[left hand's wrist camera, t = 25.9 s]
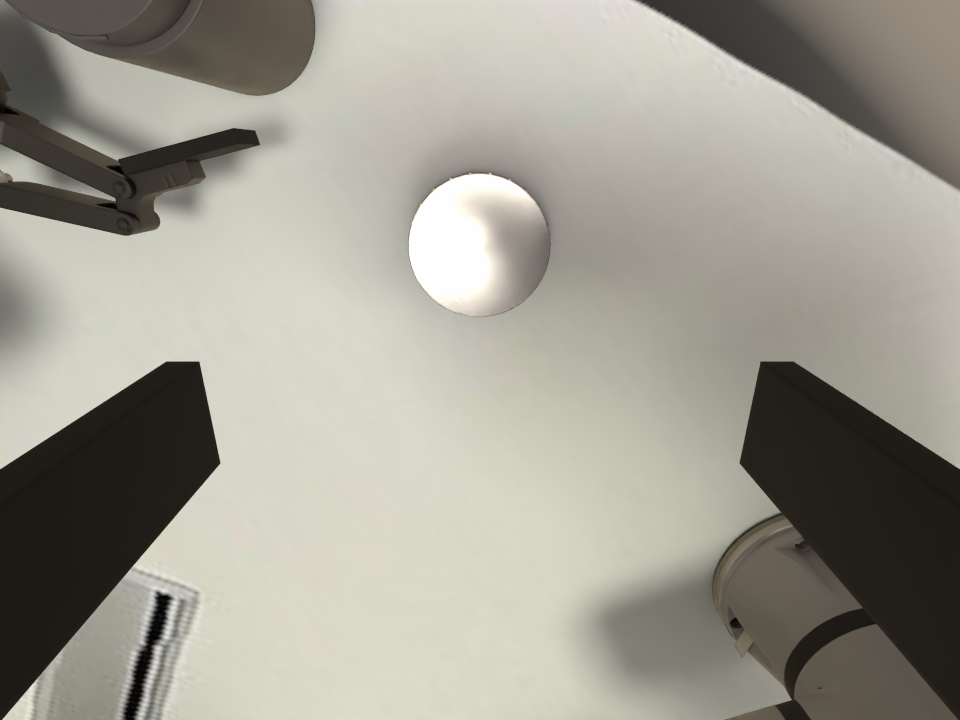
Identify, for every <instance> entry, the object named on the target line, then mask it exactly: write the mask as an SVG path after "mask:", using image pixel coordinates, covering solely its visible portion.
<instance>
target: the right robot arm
mask: <svg viewBox="0 0 960 720" xmlns="http://www.w3.org/2000/svg"><path fill="white" fill-rule="evenodd" d="M7 91H10V88H9V86H8V84H7V82H6V80H5V78H4V76H3V74H2V73H1V72H0V144H2V145H4V146H6V147H8V148H10V149H12V150H15V151H17V152H19V153H21V154H23V155H25V156H27V157H29V158H32V159H34V160H36V161H38V162H40V163H42V164H44V165H46V166H49V167H51V168H53V169H55V170H57V171H59V172H61V173H63V174H66V175H68V176H70V177H72V178H74V179H76V180H78V181H80V182H83V183H85V184H87V185H89V186H91V187H93V188H95V189H97V190H100V191H102V192H104V193H106V194H108V195H110V196H112V197H114V198H116V202H115V201H111V200H107V199H102V198H98V197H94V196H89V195H85V194H81V193H76V192H72V191H68V190H63V189H59V188H54V187H50V186H46V185H41V184H37V183H31V182H13V180H12V177H11V176H10V175H9V174H7V173H3V172H2V171H1V170H0V208H5V209H9V210H14V211H18V212H22V213H27V214H31V215H36V216H40V217H45V218H49V219H53V220H58V221H62V222H67V223H71V224H76V225H80V226H84V227H89V228H93V229H98V230H102V231H107V232H111V233H115V234H120V235H126V236H129V235H133V234H138V233H142V232H147V231H151V230H155V229H157V228H158V227H159V225H160V218H159V216H158V215H157V214H156V213H155V212H154V206H153V205H154V199H155V197H156V196H159V195H161V194H162V193H163V192H167V191H171V190H175V189H179V188H182V187H186V186H190V185H194V184H198V183H200V182H201V181H202V180H203V179H205V178H206V176H205V174H204V171H203V169H202V167H201V164H200V162H199V161H201V160H205V159H209V158H213V157H216V156H220V155H224V154H228V153H231V152H235V151H239V150H243V149H246V148H250V147H254V146H258V145H260V143H259V140H258V138H257V135H256V132H255V131H253V130H244V129H236V128H233V129H229V130H225V131H222V132H218V133H214V134H211V135H207V136H203V137H200V138H196V139H192V140H188V141H185V142H181V143H177V144H174V145H170V146H166V147H163V148H159V149H155V150H152V151H148V152H144V153H140V154H137V155H133V156H129V157H126V158H122V159H118V161H119V162H118V161H116V160H114V159H112V158H110V157H108V156H106V155H104V154H102V153H100V152H98V151H96V150H94V149H91V148H89V147H87V146H85V145H83V144H81V143H79V142H77V141H75V140H73V139H71V138H69V137H67V136H65V135H62V134H60V133H58V132H56V131H54V130H52V129H50V128H48V127H46V126H44V125H42V124H40V123H39V121H38V120H37V119H35V118H33V117H31V116H29V115H27V114H25V113H23V112H21V111H19V110H17V109H14V108H12V107H10V106H8V105H7V94H6V92H7Z"/></svg>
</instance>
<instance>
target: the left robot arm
mask: <svg viewBox="0 0 960 720" xmlns="http://www.w3.org/2000/svg"><path fill="white" fill-rule="evenodd" d="M219 464H220V459H219V454H218V449H217V445H216V440H215V435H214V430H213V425H212V420H211V416H210V411H209V406H208V401H207V396H206V392H205V387H204V382H203V377H202V372H201V367H200V363H199V362H165V363H164V364H162V365H161V366H159V367H157V368H156V369H154V370H153V371H151V372H150V373H148V374H147V375H145V376H144V377H142V378H141V379H139V380H137V381H136V382H134V383H133V384H131V385H130V386H128V387H127V388H125V389H124V390H122V391H120V392H119V393H117V394H116V395H114V396H113V397H111V398H110V399H108V400H107V401H105V402H103V403H102V404H100V405H99V406H97V407H96V408H94V409H93V410H91V411H90V412H88V413H87V414H85V415H83V416H82V417H80V418H79V419H77V420H76V421H74V422H73V423H71V424H70V425H68V426H66V427H65V428H63V429H62V430H60V431H59V432H57V433H56V434H54V435H53V436H51V437H49V438H48V439H46V440H45V441H43V442H42V443H40V444H39V445H37V446H36V447H34V448H33V449H31V450H29V451H28V452H26V453H25V454H23V455H22V456H20V457H19V458H17V459H16V460H14V461H12V462H11V463H9V464H8V465H6V466H5V467H3V468H2V469H0V720H2V719H3V718H4V717H5V716H6V714H7V713H8V712H9V711H10V710H11V709H12V707H13V706H14V705H15V704H16V703H17V701H18V700H19V699H20V698H21V697H22V696H23V694H24V693H25V692H26V691H27V690H28V689H29V687H30V686H31V685H32V684H33V683H34V682H35V680H36V679H37V678H38V677H39V676H40V674H41V673H42V672H43V671H44V670H45V669H46V667H47V666H48V665H49V664H50V663H51V662H52V660H53V659H54V658H55V657H56V656H57V655H58V653H59V652H60V651H61V650H62V649H63V647H64V646H65V645H66V644H67V643H68V642H69V640H70V639H71V638H72V637H73V636H74V635H75V633H76V632H77V631H78V630H79V629H80V628H81V626H82V625H83V624H84V623H85V622H86V620H87V619H88V618H89V617H90V616H91V615H92V613H93V612H94V611H95V610H96V609H97V608H98V606H99V605H100V604H101V603H102V602H103V601H104V599H105V598H106V597H107V596H108V595H109V593H110V592H111V591H112V590H113V589H114V588H115V586H116V585H117V584H118V583H119V582H120V581H121V579H122V578H123V577H124V576H125V575H126V574H127V572H128V571H129V570H130V569H131V568H132V566H133V565H134V564H135V563H136V562H137V561H138V559H139V558H140V557H141V556H142V555H143V554H144V552H145V551H146V550H147V549H148V548H149V546H150V545H151V544H152V543H153V542H154V541H155V539H156V538H157V537H158V536H159V535H160V534H161V532H162V531H163V530H164V529H165V528H166V527H167V525H168V524H169V523H170V522H171V521H172V519H173V518H174V517H175V516H176V515H177V514H178V512H179V511H180V510H181V509H182V508H183V507H184V505H185V504H186V503H187V502H188V501H189V500H190V498H191V497H192V496H193V495H194V494H195V492H196V491H197V490H198V489H199V488H200V487H201V485H202V484H203V483H204V482H205V481H206V480H207V478H208V477H209V476H210V475H211V474H212V473H213V471H214V470H215V469H216V468H217V467H218V465H219ZM740 464H741V465H742V467H743V468H744V469H745V470H746V471H747V473H748V474H749V475H750V476H751V477H752V478H753V480H754V481H755V482H756V483H757V484H758V485H759V487H760V488H761V489H762V490H763V491H764V492H765V494H766V495H767V496H768V497H769V498H770V500H771V501H772V502H773V503H774V504H775V505H776V507H777V508H778V509H779V510H780V511H781V512H782V514H783V515H781V516H778V517H775V518H773V519H770V520H768V521H766V522H764V523H762V524H760V525H758V526H756V527H755V528H753V529H752V530H750V531H749V532H747V533H746V534H745V535H743V536H742V537H741V538H740V539H739V540H738V541H737V542H736V543H735V544H734V545H733V546H732V547H731V548H730V549H729V550H728V551H727V553H726V554H725V556H724V557H723V558H722V560H721V562H720V564H719V566H718V568H717V571H716V573H715V577H714V582H713V599H714V603H715V606H716V609H717V611H718V613H719V614H720V616H721V618H722V620H723V622H724V624H725V626H726V628H727V630H728V631H729V633H730V634H731V635H732V637H733V638H734V639H735V640H736V643H735V644H734V645H735V646H736V648H737V650H738V652H739V654H740V656H741V658H742V657H743V656H744V654H745V653H746V651H748V652H749V653H750V654H751V655H752V656H753V657H754V658H755V659H756V660H757V661H758V662H759V663H760V664H762V665H763V666H764V667H765V668H766V669H767V670H768V671H769V672H770V673H771V674H772V675H773V676H774V677H775V678H776V679H777V680H778V681H779V682H780V683H781V684H782V685H783V686H784V687H785V689H786V690H787V692H788V694H789V695H790V697H791V699H792V700H791V701H788V702H784V703H781V704H778V705H773V706H770V707H766V708H763V709H759V710H756V711H753V712H749V713H746V714H743V715H739V716H736V717H733V718H729V719H726V720H960V469H958V468H957V467H955V466H954V465H952V464H951V463H949V462H948V461H946V460H944V459H943V458H941V457H940V456H938V455H937V454H935V453H934V452H932V451H931V450H929V449H927V448H926V447H924V446H923V445H921V444H920V443H918V442H917V441H915V440H914V439H912V438H911V437H909V436H907V435H906V434H904V433H903V432H901V431H900V430H898V429H897V428H895V427H894V426H892V425H890V424H889V423H887V422H886V421H884V420H883V419H881V418H880V417H878V416H877V415H875V414H873V413H872V412H870V411H869V410H867V409H866V408H864V407H863V406H861V405H860V404H858V403H857V402H855V401H853V400H852V399H850V398H849V397H847V396H846V395H844V394H843V393H841V392H840V391H838V390H836V389H835V388H833V387H832V386H830V385H829V384H827V383H826V382H824V381H823V380H821V379H819V378H818V377H816V376H815V375H813V374H812V373H810V372H809V371H807V370H806V369H804V368H803V367H801V366H799V365H798V364H796V363H795V362H761V363H760V367H759V372H758V377H757V382H756V387H755V392H754V396H753V401H752V406H751V411H750V416H749V420H748V425H747V430H746V435H745V440H744V445H743V449H742V454H741V459H740Z"/></svg>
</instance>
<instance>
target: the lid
mask: <svg viewBox="0 0 960 720" xmlns="http://www.w3.org/2000/svg"><path fill="white" fill-rule="evenodd" d="M433 190H434V191H432V192H431V193H430V194H429V195H428V196H427V197H426V199H425V200H424V201H423V202H422V203H420V207H419V208H418V210H417V212H416V214H415V216H414V218H413V221H412V222H411V223H412V224H411V228H410V233H409V240H408V242H409V243H408V247H409V257H410V262H411V266H412V269H413V272H414V274H415V276H416V278H417V280H418V282H419V283H420V285H421V287H422V288H423V289H424V290H425V292H426V293H427V294H428V295H429V296H430V297H431V298H432V299H433V300H434V301H435V302H437V303H438V304H440V305H441V306H443V307H445V308H446V309H448V310H450V311H453V312H455V313H458V314H462V315H466V316H474V317H486V316H493V315H497V314H500V313H503V312H506V311H508V310H511V309H512V308H514V307H516V306H518V305H519V304H520V303H522V302H523V301H524V300H526V299H527V298H528V297H529V296H530V295H531V294H532V292H533V291H534V290H535V289H536V287H537V286H538V284H539V283H540V281H541V280H542V278H543V275H544V273H545V271H546V268H547V264H548V261H549V255H550V244H551V243H550V236H549V230H548V226H547V225H548V223H547V222H546V220H545V217H544V215H543V213H542V211H541V209H540V205H538V204H537V203H536V202H535V200H534V199H533V198H532V197H531V196H530V195H529V194H528V193H527V190H526V189H523V188H521V187H520V186H519V185H517V184H516V183H514V182H512V181H511V179H510V178H508V179H506V178H504V177H502V176H498V175H495V174H491V172H489V173H471V172H469V174H464V175H460V176H457V177H454V178H453V177H451V178H450V180H448V181H446V182H445V183H443V184H442V185H440V186H439V187H437V188H436V187H435V188H434V189H433Z"/></svg>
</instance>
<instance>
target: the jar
mask: <svg viewBox="0 0 960 720" xmlns="http://www.w3.org/2000/svg"><path fill="white" fill-rule="evenodd" d="M5 1H6V2H7V3H9V4H10V5H11V6H12V7H13V8H14V9H16V10H17V11H18V12H19V13H20V14H21V15H22V16H23V17H25V18H26V19H28V20H30V21H32V22H34V23H35V24H37V25H39V26H41V27H43V28H45V29H46V30H48V31H49V32H52V33H56V34H58V35H59V36H61V37H62V38H64V39H66V40H67V41H69V42H70V43H72V44H74V45H76V46H78V47H80V48H82V49H84V50H87V51H89V52H92V53H95V54H98V55H101V56H105V57H109V58H112V59H116V60H120V61H124V62H127V63H131V64H135V65H138V66H142V67H146V68H149V69H153V70H157V71H160V72H164V73H168V74H171V75H175V76H179V77H182V78H186V79H190V80H193V81H197V82H201V83H204V84H208V85H212V86H215V87H219V88H223V89H226V90H230V91H234V92H237V93H241V94H246V95H256V96H259V95H267V94H272V93H275V92H277V91H280V90H282V89H284V88H285V87H287V86H289V85H290V84H291V83H292V82H294V81H295V80H296V79H297V77H298V76H299V75H300V74H301V73H302V71H303V70H304V68H305V67H306V65H307V63H308V60H309V58H310V55H311V52H312V49H313V44H314V37H315V19H314V13H313V7H312V4H311V0H5Z"/></svg>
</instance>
